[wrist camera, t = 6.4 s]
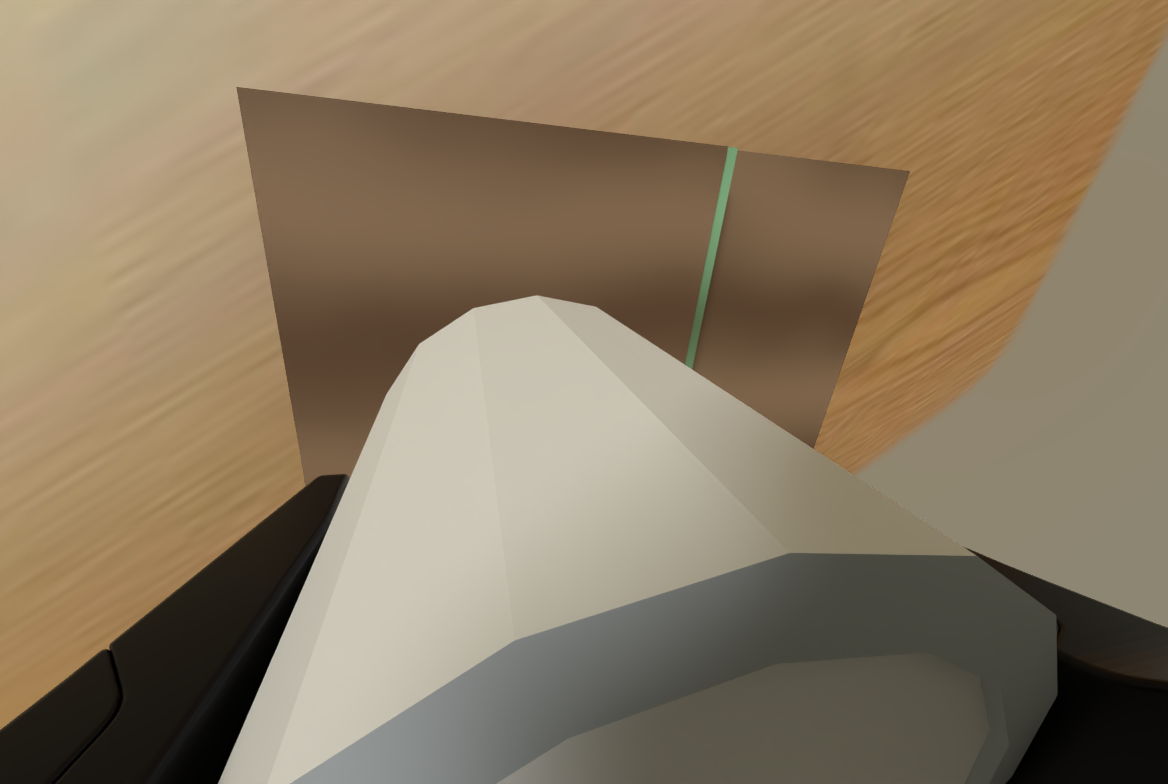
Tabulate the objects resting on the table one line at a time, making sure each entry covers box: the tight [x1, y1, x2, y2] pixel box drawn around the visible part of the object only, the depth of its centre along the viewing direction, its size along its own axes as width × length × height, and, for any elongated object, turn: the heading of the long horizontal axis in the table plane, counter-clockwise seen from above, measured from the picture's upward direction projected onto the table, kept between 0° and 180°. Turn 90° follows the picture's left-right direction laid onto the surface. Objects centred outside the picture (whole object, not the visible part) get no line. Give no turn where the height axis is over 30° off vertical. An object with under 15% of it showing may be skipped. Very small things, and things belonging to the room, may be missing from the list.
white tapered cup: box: [218, 295, 1057, 784], centre depth 7 cm, size 7×7×7 cm
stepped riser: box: [237, 87, 910, 486], centre depth 17 cm, size 11×19×4 cm, turn 84°
